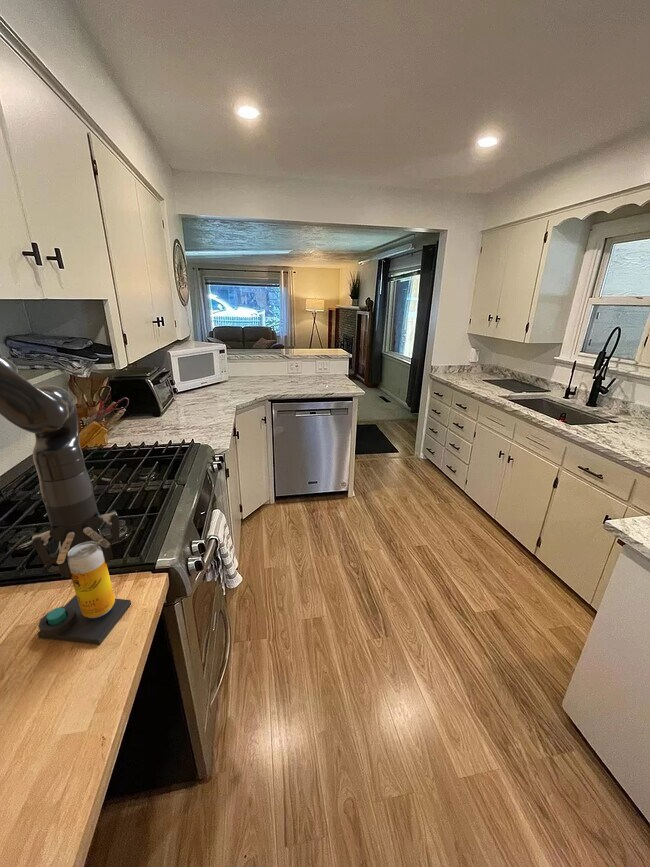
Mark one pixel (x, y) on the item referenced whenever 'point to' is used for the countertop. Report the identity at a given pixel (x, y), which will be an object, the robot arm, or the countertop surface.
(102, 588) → the beer can
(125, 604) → the scale
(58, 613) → the button
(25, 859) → the countertop surface
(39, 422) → the robot arm
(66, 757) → the countertop surface
